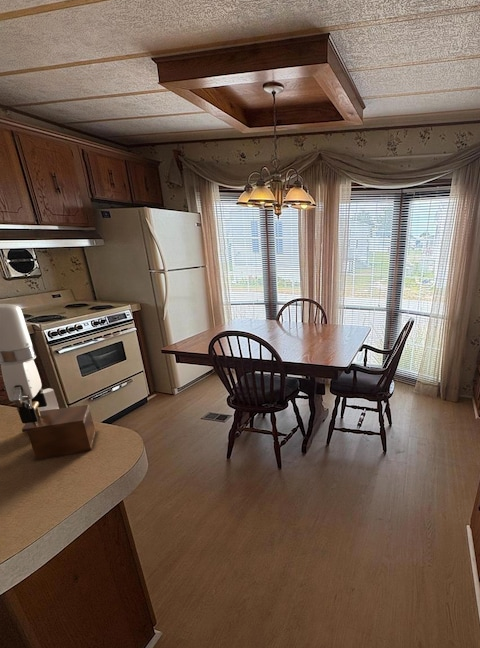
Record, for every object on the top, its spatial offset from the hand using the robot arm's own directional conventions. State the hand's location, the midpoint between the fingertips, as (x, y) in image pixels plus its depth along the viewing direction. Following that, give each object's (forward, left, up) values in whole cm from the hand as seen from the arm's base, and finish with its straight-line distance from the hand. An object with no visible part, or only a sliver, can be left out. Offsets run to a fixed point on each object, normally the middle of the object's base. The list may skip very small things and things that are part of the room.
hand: (35, 414), depth 93 cm
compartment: (+5, +1, -11) cm, 12 cm away
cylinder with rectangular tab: (-6, +12, -11) cm, 18 cm away
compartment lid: (+4, +1, -2) cm, 5 cm away
